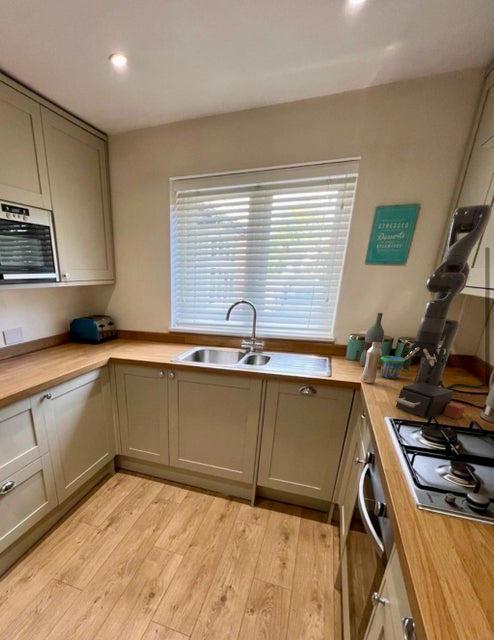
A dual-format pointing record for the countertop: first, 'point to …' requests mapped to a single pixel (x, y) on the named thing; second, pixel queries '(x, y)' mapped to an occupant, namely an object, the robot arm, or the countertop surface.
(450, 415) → the block
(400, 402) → the drawer
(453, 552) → the countertop surface
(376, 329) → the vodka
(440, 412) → the cabinet
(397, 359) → the snack cup
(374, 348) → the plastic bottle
